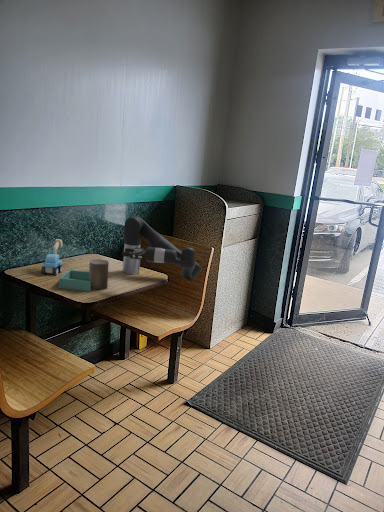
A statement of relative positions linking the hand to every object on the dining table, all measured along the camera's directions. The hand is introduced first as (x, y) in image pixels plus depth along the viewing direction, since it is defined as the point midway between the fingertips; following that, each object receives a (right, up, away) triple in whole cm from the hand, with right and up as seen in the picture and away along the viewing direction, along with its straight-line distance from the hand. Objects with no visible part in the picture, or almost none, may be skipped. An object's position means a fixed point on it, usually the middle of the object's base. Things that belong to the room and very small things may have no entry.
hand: (123, 252), depth 215 cm
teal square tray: (-24, -17, +5) cm, 30 cm away
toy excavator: (-43, -11, +22) cm, 49 cm away
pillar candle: (-14, -18, +5) cm, 24 cm away
